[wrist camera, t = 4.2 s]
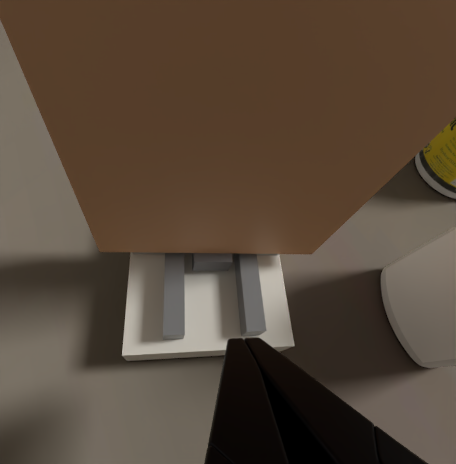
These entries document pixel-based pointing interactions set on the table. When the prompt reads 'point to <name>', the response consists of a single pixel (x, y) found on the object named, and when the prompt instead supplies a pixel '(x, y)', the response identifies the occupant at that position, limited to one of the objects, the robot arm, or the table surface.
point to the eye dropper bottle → (424, 300)
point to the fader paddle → (233, 113)
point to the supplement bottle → (440, 161)
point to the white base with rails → (202, 306)
